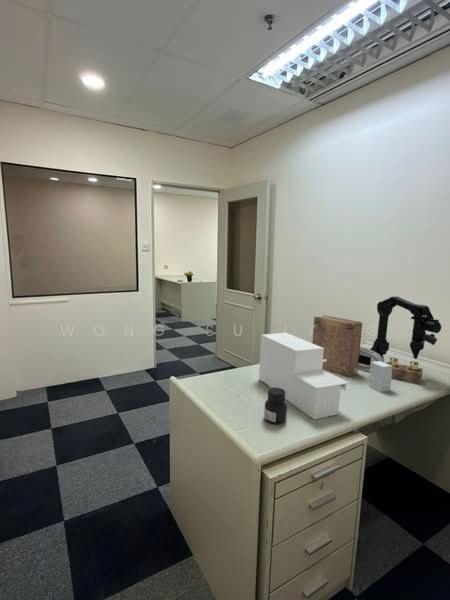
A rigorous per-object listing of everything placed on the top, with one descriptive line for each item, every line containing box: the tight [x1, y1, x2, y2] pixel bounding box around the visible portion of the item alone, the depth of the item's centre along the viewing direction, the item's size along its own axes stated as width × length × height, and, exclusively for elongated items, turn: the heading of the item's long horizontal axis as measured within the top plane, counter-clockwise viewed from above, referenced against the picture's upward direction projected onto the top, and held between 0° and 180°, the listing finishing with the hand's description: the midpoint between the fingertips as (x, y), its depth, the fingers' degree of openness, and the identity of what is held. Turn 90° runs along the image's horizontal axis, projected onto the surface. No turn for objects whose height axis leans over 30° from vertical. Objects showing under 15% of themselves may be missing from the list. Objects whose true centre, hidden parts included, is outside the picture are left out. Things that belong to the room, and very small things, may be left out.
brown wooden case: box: [311, 315, 363, 378], centre depth 187 cm, size 25×9×30 cm, turn 40°
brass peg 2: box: [409, 360, 420, 372], centre depth 174 cm, size 4×4×6 cm
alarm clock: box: [358, 346, 385, 373], centre depth 191 cm, size 23×6×13 cm, turn 42°
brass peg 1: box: [389, 357, 399, 368], centre depth 180 cm, size 4×4×6 cm
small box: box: [368, 361, 393, 393], centre depth 162 cm, size 8×6×13 cm
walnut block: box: [385, 361, 424, 386], centre depth 177 cm, size 18×10×6 cm, turn 56°
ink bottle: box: [263, 387, 288, 425], centre depth 128 cm, size 10×9×12 cm
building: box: [258, 332, 350, 420], centre depth 151 cm, size 45×18×25 cm, turn 24°
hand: (416, 356), depth 173 cm, fingers open, 9 cm apart
